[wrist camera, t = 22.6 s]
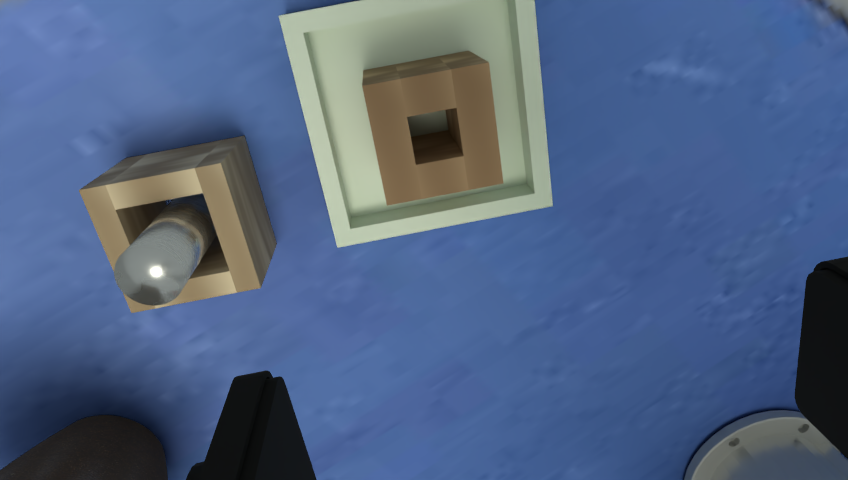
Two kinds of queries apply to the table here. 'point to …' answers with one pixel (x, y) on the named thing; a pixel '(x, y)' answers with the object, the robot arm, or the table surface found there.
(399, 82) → the block
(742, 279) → the table surface
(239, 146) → the go block
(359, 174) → the tray
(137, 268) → the cylinder
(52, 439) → the plant pot
